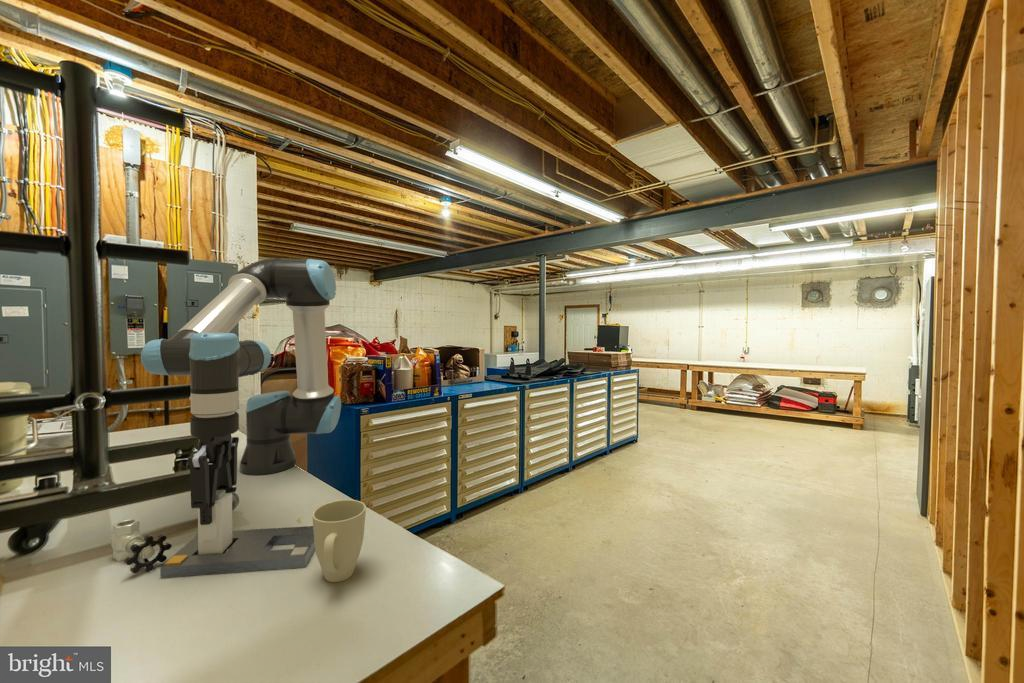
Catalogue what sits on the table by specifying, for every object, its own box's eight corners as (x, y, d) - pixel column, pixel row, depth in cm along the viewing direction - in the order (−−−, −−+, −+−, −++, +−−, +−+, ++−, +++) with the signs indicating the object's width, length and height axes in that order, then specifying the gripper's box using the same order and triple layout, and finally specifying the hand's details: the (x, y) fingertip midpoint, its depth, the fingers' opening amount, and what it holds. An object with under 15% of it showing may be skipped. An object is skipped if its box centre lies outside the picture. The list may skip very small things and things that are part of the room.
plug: (210, 543, 80) (209, 488, 80) (232, 542, 81) (232, 488, 81) (198, 554, 76) (197, 497, 76) (221, 553, 77) (221, 496, 77)
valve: (99, 561, 77) (126, 581, 71) (98, 527, 76) (126, 545, 71) (143, 544, 83) (172, 562, 77) (143, 513, 82) (171, 528, 77)
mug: (298, 576, 73) (298, 512, 73) (350, 554, 81) (351, 495, 80) (325, 605, 66) (326, 534, 66) (380, 577, 74) (381, 513, 73)
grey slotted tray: (199, 542, 84) (199, 531, 84) (323, 534, 88) (323, 524, 88) (160, 578, 72) (160, 565, 72) (305, 567, 76) (305, 555, 76)
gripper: (217, 404, 85) (217, 513, 86) (163, 424, 69) (164, 559, 70) (256, 404, 87) (256, 511, 88) (212, 423, 70) (213, 555, 71)
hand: (215, 532), depth 79 cm, fingers closed on plug, 4 cm apart
